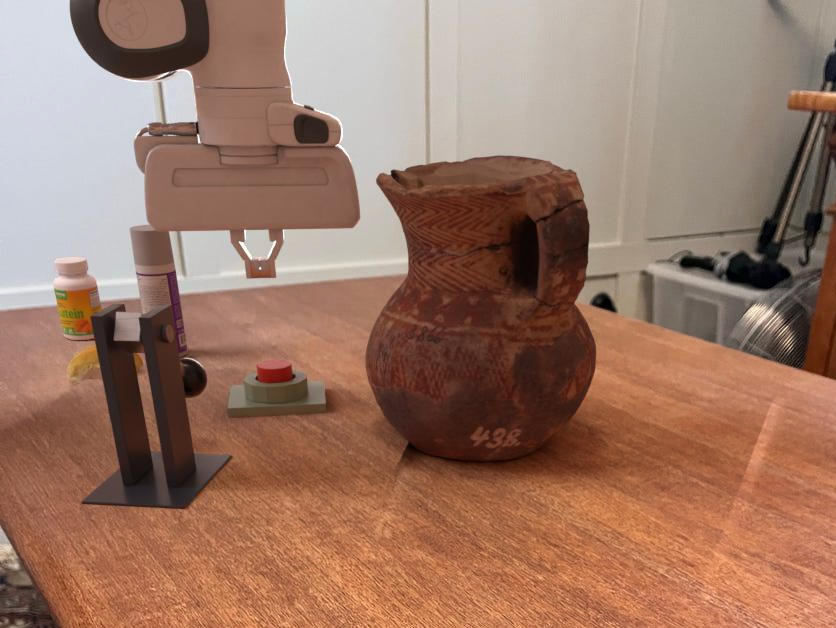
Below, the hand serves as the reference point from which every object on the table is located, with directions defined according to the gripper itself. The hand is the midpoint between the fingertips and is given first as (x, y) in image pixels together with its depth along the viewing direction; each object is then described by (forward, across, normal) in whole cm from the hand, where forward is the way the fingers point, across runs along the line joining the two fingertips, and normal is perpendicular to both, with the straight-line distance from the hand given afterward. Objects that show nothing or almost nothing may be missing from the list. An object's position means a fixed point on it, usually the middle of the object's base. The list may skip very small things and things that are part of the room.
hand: (261, 277), depth 101 cm
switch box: (+14, 0, 0) cm, 14 cm away
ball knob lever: (+5, -9, -17) cm, 19 cm away
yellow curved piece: (+14, -20, +16) cm, 29 cm away
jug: (+14, +20, -11) cm, 27 cm away
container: (+14, -14, +26) cm, 32 cm away
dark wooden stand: (+14, -10, -20) cm, 26 cm away
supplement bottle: (+14, -26, +37) cm, 47 cm away
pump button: (+10, 0, 0) cm, 10 cm away
